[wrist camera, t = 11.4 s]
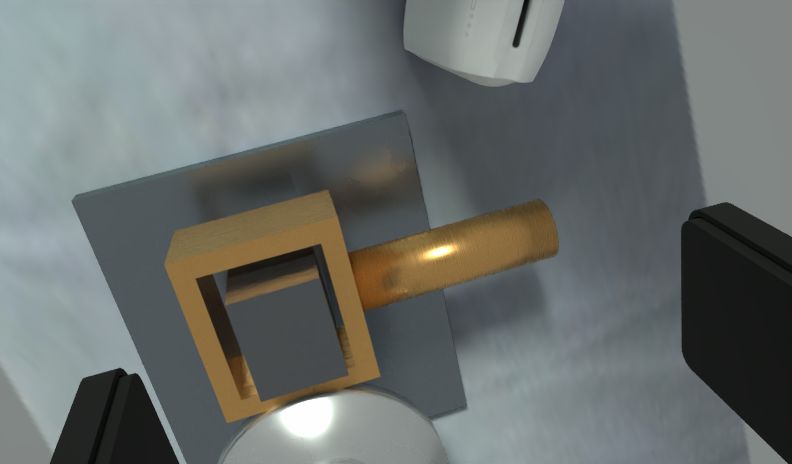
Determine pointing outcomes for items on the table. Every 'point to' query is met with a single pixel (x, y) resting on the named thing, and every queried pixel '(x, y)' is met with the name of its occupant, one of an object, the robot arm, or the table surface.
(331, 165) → the ringlock standard
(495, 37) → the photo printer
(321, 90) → the table surface
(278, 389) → the grey rectangular block
